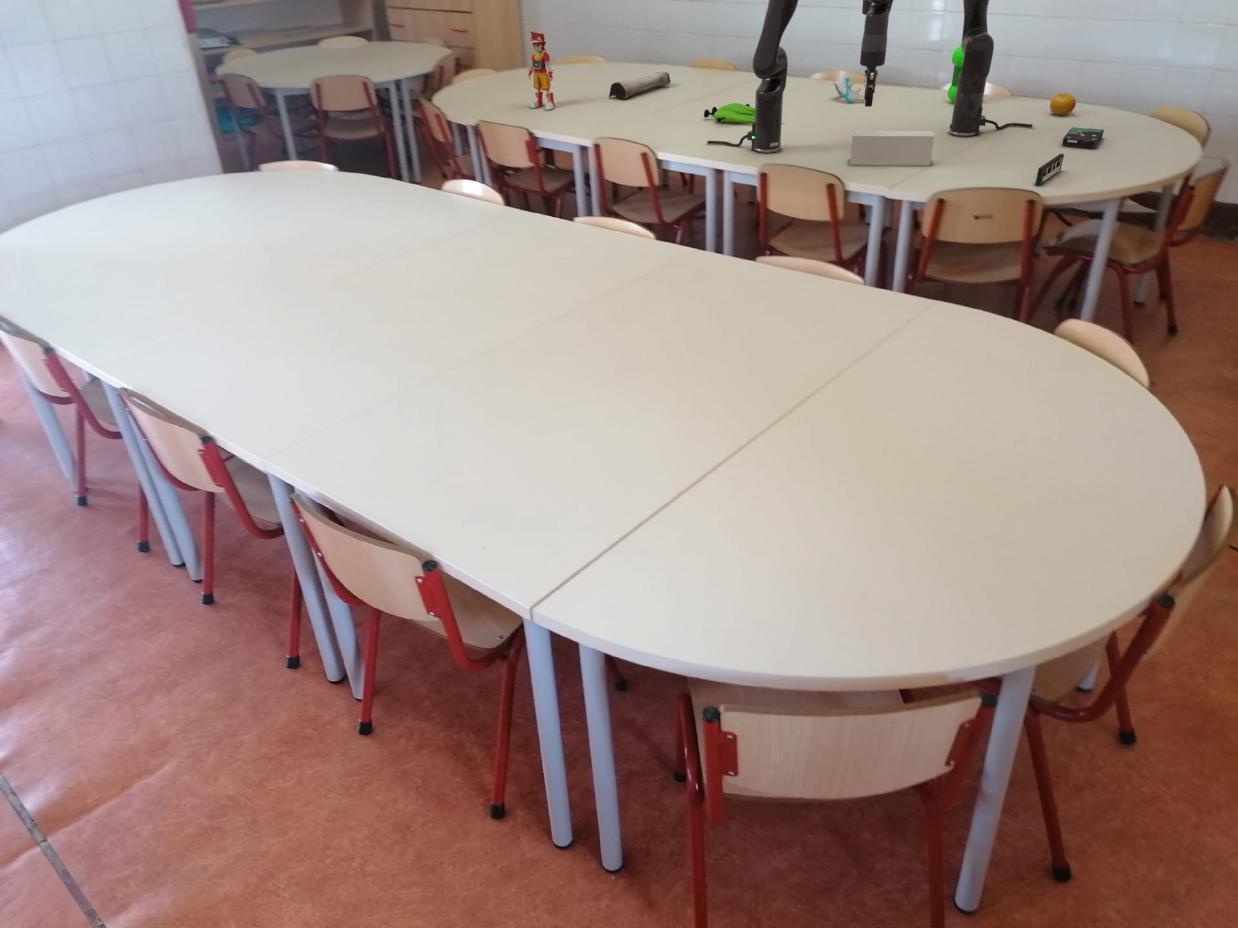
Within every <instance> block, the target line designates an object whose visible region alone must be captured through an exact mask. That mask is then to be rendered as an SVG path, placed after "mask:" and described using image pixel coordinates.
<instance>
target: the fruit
mask: <svg viewBox="0 0 1238 928" xmlns="http://www.w3.org/2000/svg"><path fill="white" fill-rule="evenodd" d="M1076 104H1077V100H1076V98H1075V96H1073V95H1072V94H1070V93H1059V94H1056V95H1055V96H1053V97H1052V99H1050V103H1049V110H1050V112H1051V113H1052V114H1054V115H1057V116H1066V115H1069V114H1071V113H1072V112H1073V111H1074V109H1075V108H1076Z"/></svg>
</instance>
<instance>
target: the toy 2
mask: <svg viewBox="0 0 1238 928" xmlns="http://www.w3.org/2000/svg"><path fill="white" fill-rule="evenodd" d="M710 116H713V118H714V119H715V120H716V123H721V122H724V123H751V124H752V122H753V121H755V107H752V106H751V104H750V103H746V104H743V103H740V102H739V103H737V102H732V103H729V104H725V105H722V106H720V107H719V108H717V107H716V106H713V107H712V109H711V111H710V110H709V109H707V108H706V109H704V112H703V117H704V118H705V119H707V118H708V117H710Z"/></svg>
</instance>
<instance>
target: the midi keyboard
mask: <svg viewBox="0 0 1238 928" xmlns="http://www.w3.org/2000/svg"><path fill="white" fill-rule="evenodd" d="M1064 157H1065V153H1059V154H1058V155H1056V156H1055V157H1052V159H1051V160H1049V161H1047V162H1045V164H1042V165H1041V166H1039V167H1038V169H1037V175H1036V179H1035V186H1040V185H1042V183H1044V182H1045V181H1047V180H1048V179H1049V178H1051V177H1052V176H1054V175H1055V174H1056V173H1058V172H1060V171H1061V170H1062V165H1063V161H1064Z"/></svg>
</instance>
